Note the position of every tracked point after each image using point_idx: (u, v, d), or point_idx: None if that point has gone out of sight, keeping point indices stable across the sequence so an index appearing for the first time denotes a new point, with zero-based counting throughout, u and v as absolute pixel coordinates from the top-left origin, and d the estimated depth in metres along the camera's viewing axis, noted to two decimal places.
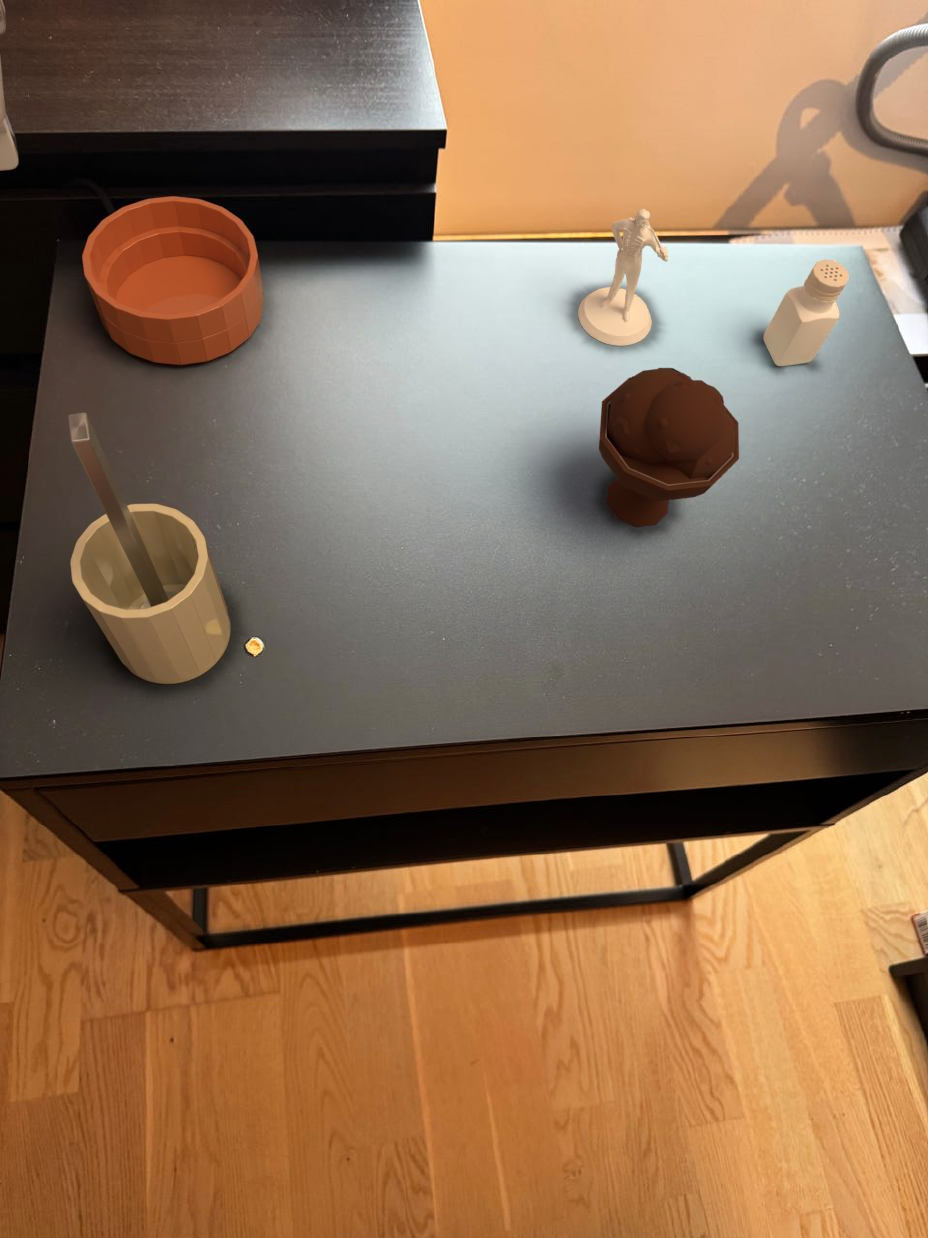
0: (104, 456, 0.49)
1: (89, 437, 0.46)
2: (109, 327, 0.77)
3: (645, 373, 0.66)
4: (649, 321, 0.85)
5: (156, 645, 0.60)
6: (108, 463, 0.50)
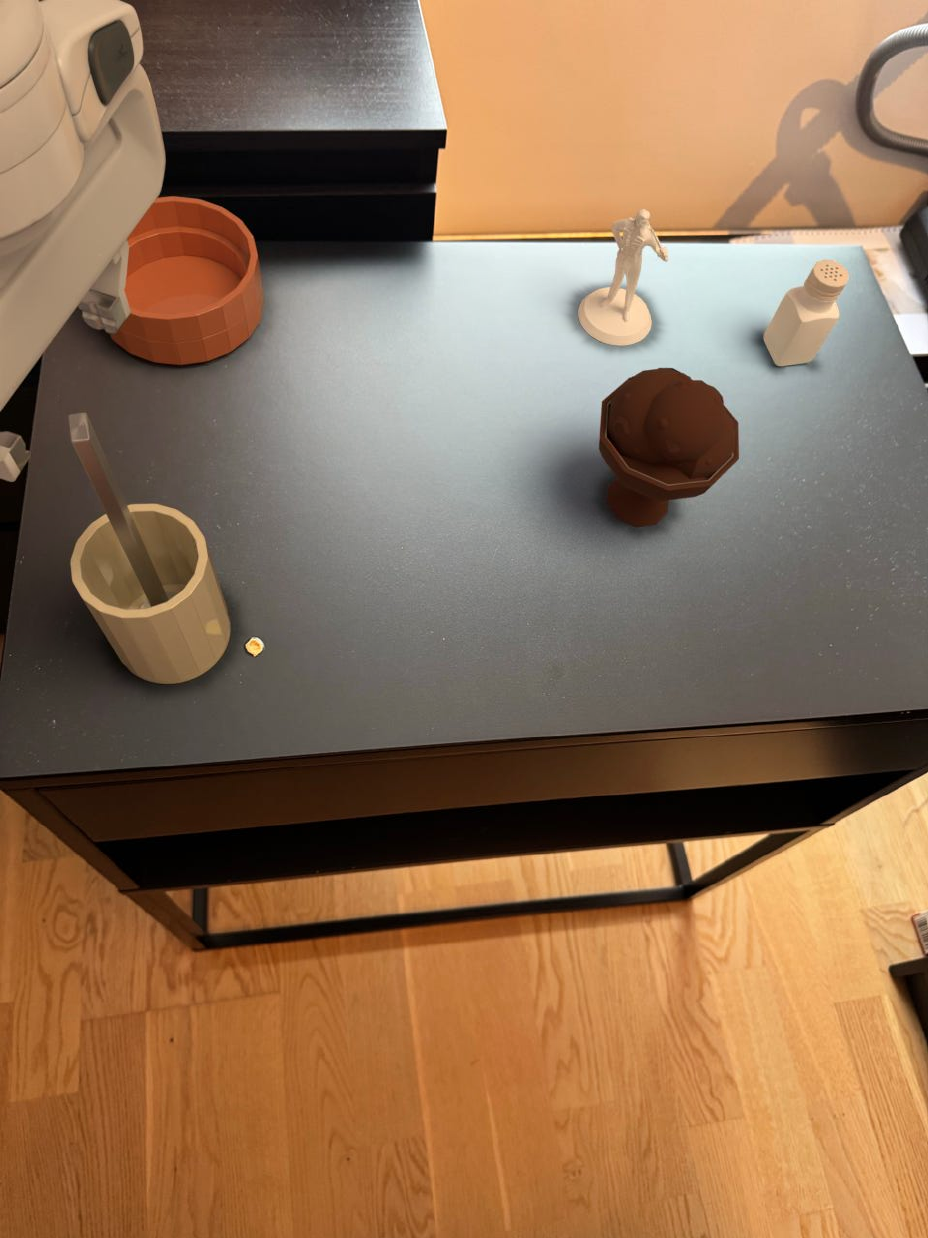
0: (104, 456, 0.49)
1: (89, 437, 0.46)
2: None
3: (645, 373, 0.66)
4: (649, 321, 0.85)
5: (156, 645, 0.60)
6: (108, 463, 0.50)
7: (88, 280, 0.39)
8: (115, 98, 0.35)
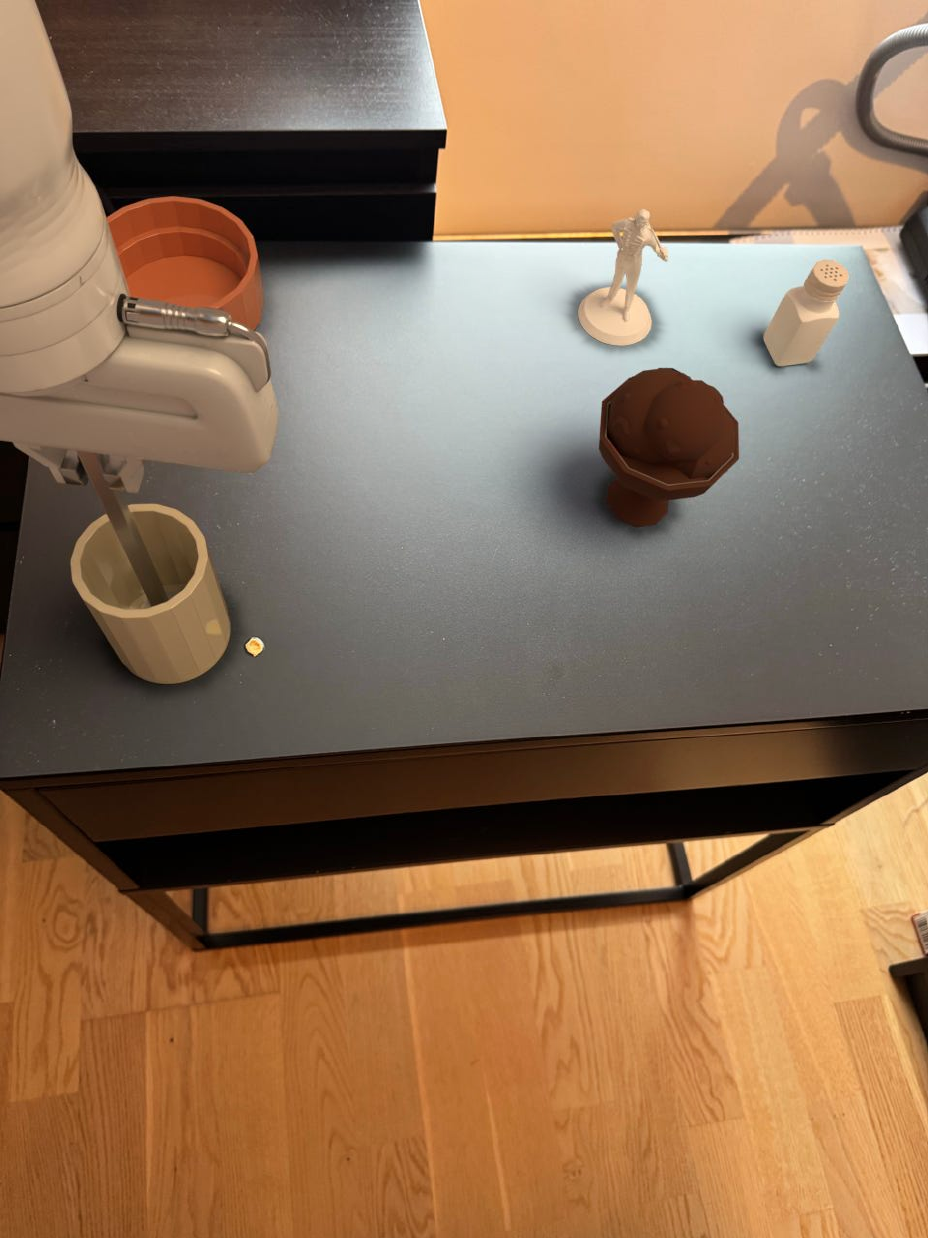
0: (104, 456, 0.49)
1: None
2: None
3: (645, 373, 0.66)
4: (649, 321, 0.85)
5: (156, 645, 0.60)
6: None
7: None
8: None
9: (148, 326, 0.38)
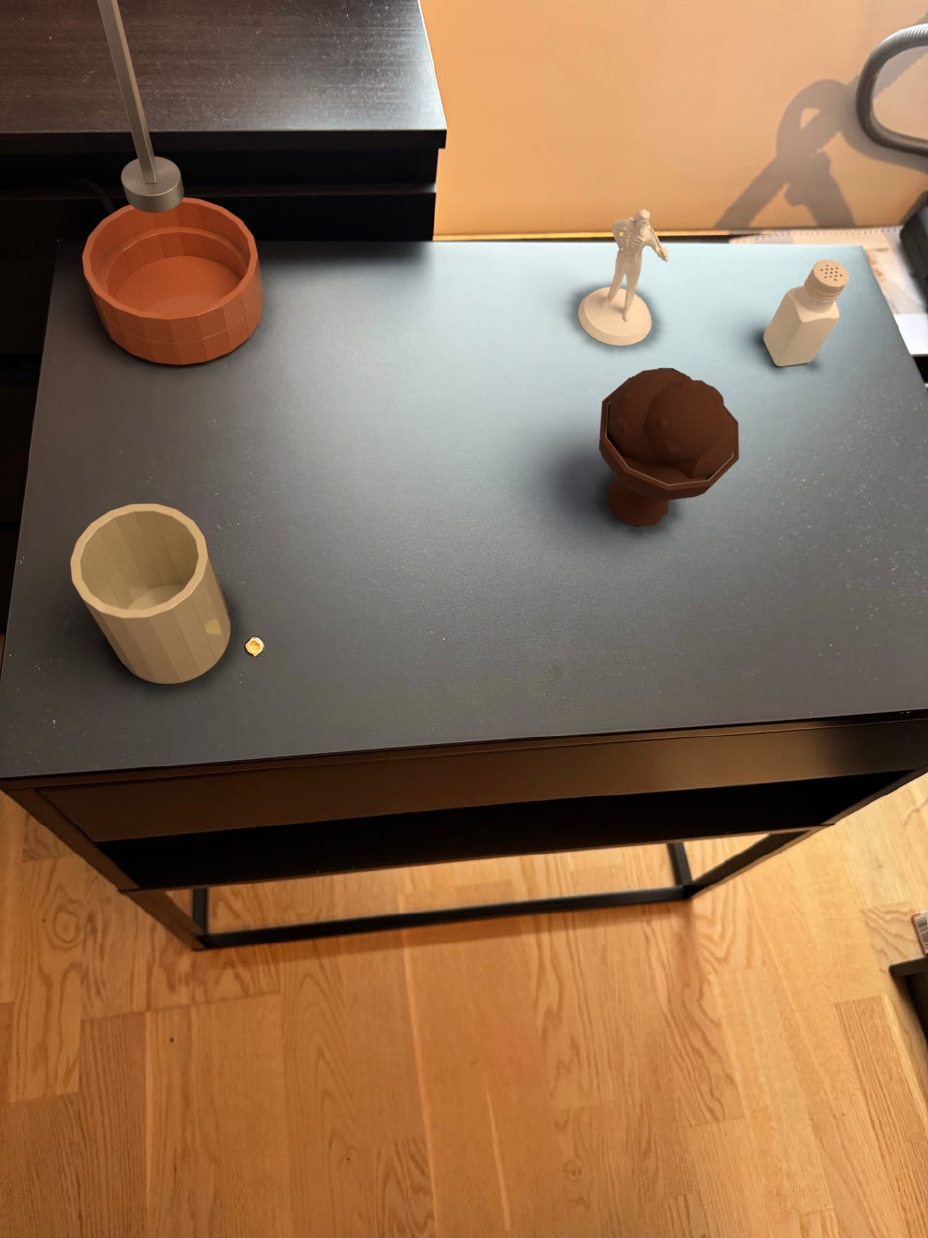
0: None
1: None
2: (109, 327, 0.77)
3: (645, 373, 0.66)
4: (649, 321, 0.85)
5: (156, 645, 0.60)
6: None
7: None
8: None
9: None
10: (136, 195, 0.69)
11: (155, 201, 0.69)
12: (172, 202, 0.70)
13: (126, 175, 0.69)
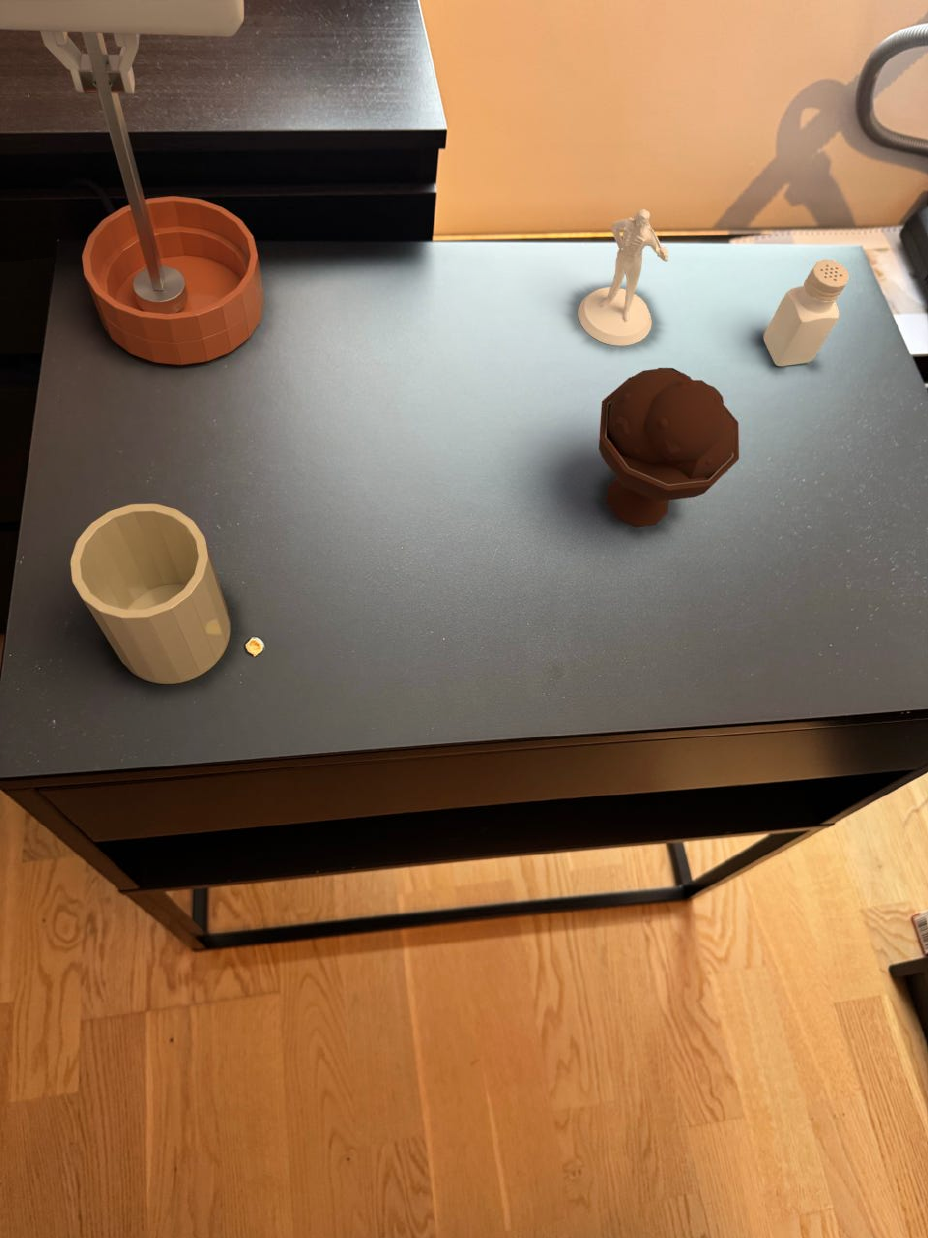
0: None
1: None
2: (109, 327, 0.77)
3: (645, 373, 0.66)
4: (649, 321, 0.85)
5: (156, 645, 0.60)
6: None
7: None
8: None
9: None
10: (145, 301, 0.78)
11: (162, 306, 0.78)
12: (177, 306, 0.79)
13: (137, 283, 0.79)
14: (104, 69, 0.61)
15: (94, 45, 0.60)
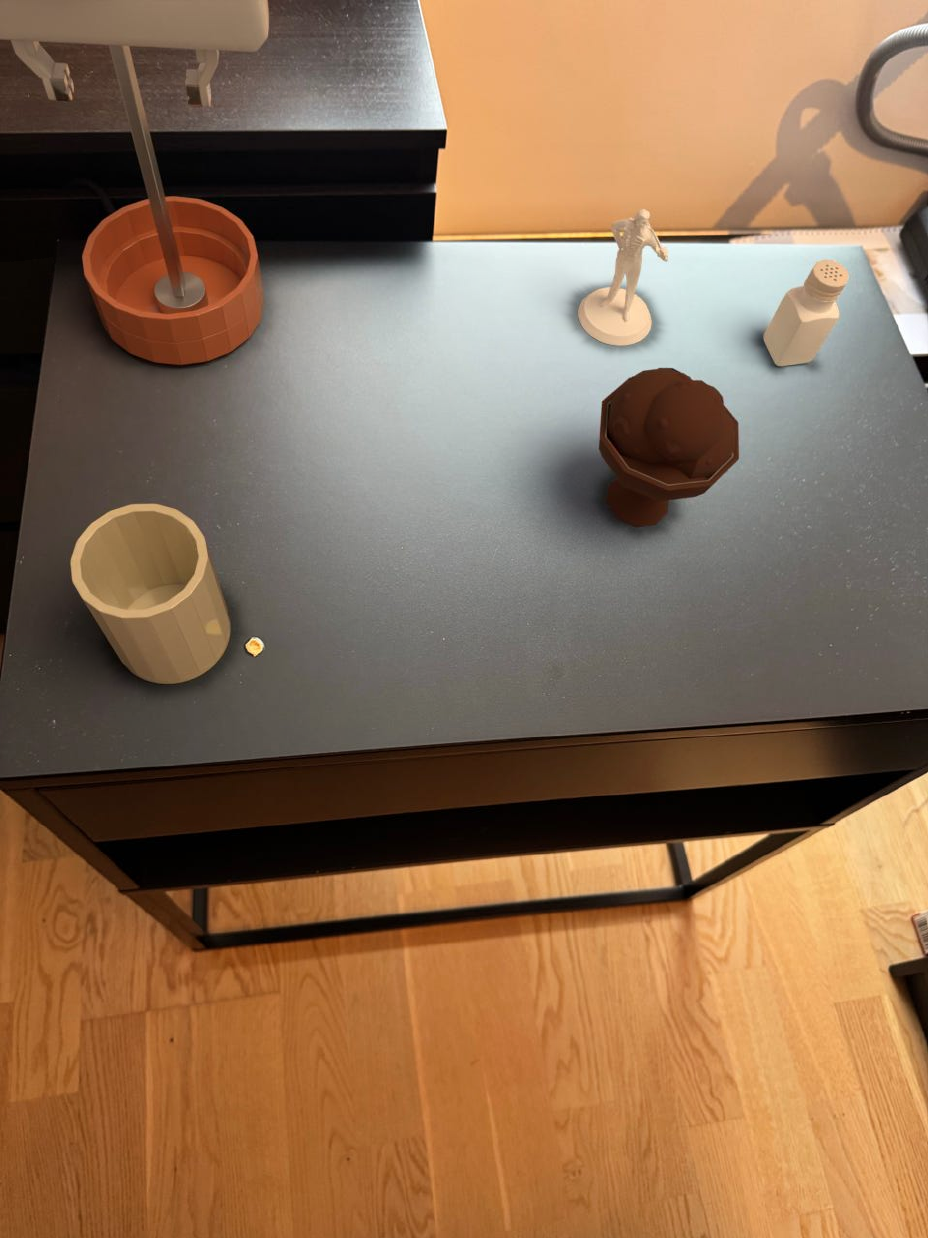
0: (136, 79, 0.63)
1: None
2: (109, 327, 0.77)
3: (645, 373, 0.66)
4: (649, 321, 0.85)
5: (156, 645, 0.60)
6: (139, 90, 0.64)
7: None
8: None
9: None
10: (166, 307, 0.79)
11: None
12: None
13: (158, 288, 0.80)
14: (130, 82, 0.62)
15: (121, 59, 0.61)
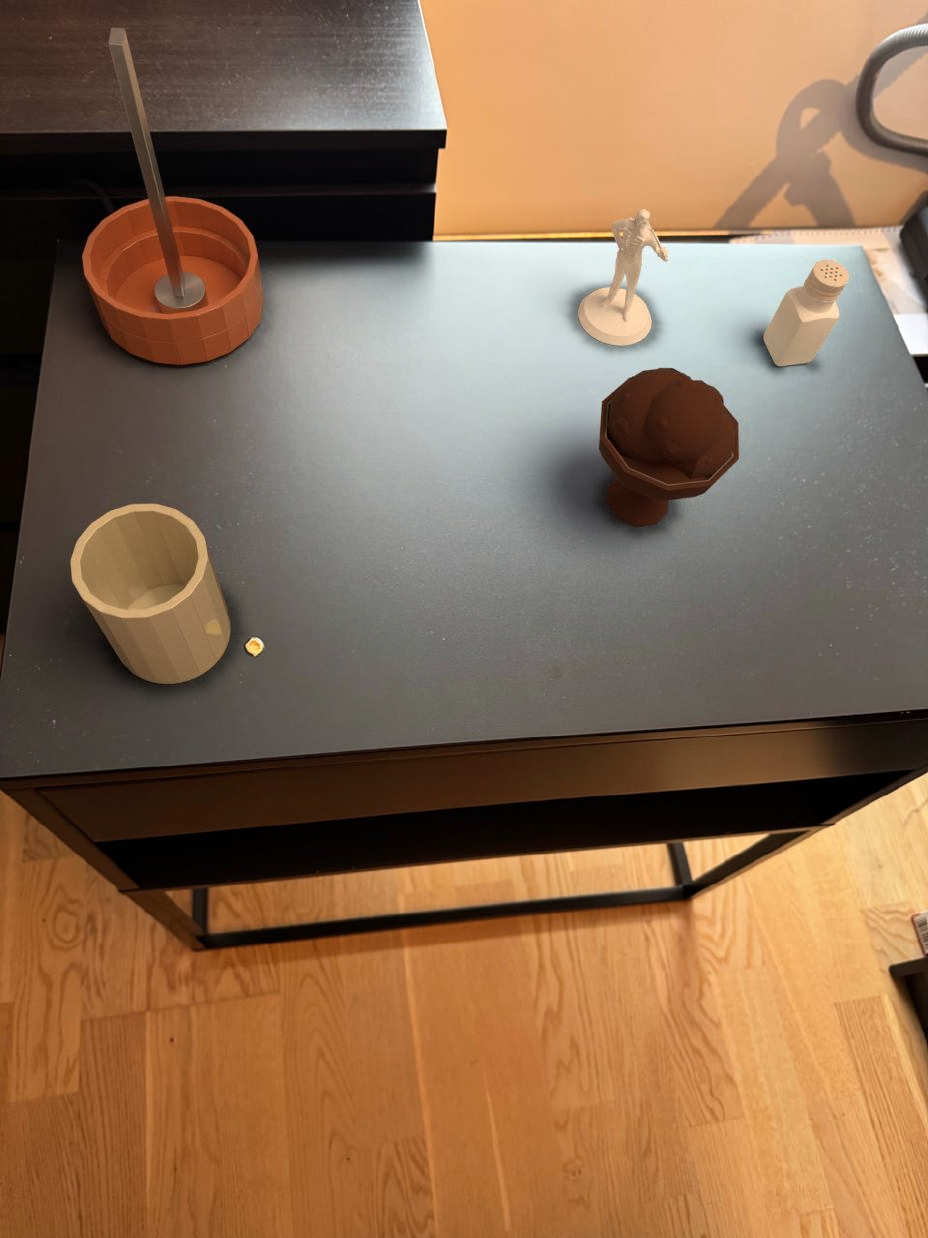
0: (136, 79, 0.63)
1: (122, 44, 0.60)
2: (109, 327, 0.77)
3: (645, 373, 0.66)
4: (649, 321, 0.85)
5: (156, 645, 0.60)
6: (139, 90, 0.64)
7: None
8: None
9: None
10: (166, 307, 0.79)
11: None
12: None
13: (158, 288, 0.80)
14: (130, 82, 0.62)
15: (121, 59, 0.61)
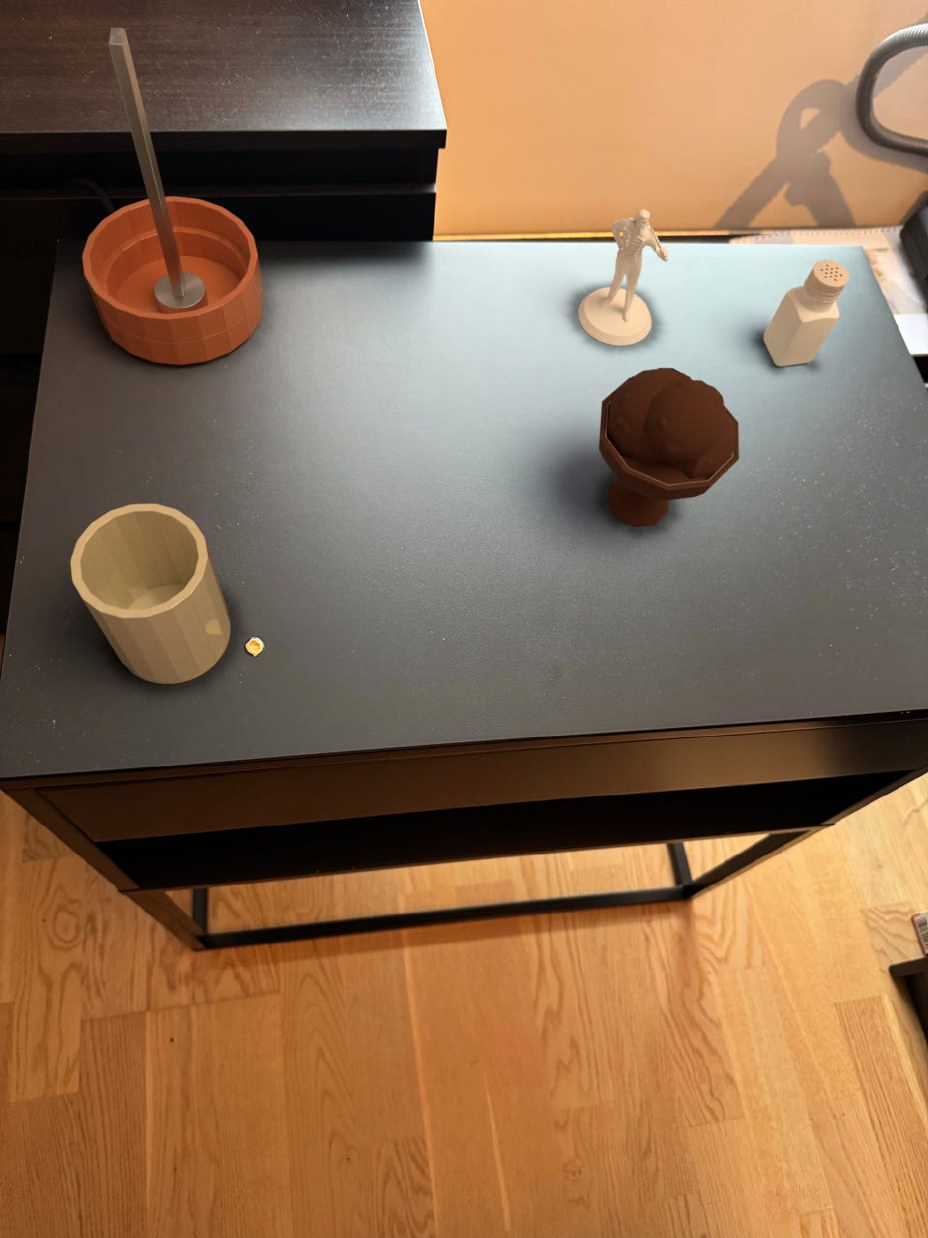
0: (136, 79, 0.63)
1: (122, 44, 0.60)
2: (109, 327, 0.77)
3: (645, 373, 0.66)
4: (649, 321, 0.85)
5: (156, 645, 0.60)
6: (139, 90, 0.64)
7: None
8: None
9: None
10: (166, 307, 0.79)
11: None
12: None
13: (158, 288, 0.80)
14: (130, 82, 0.62)
15: (121, 59, 0.61)
